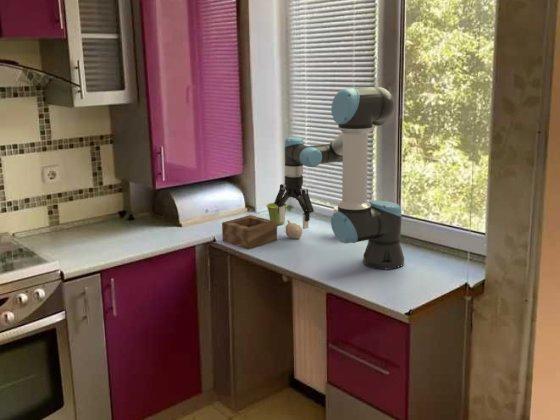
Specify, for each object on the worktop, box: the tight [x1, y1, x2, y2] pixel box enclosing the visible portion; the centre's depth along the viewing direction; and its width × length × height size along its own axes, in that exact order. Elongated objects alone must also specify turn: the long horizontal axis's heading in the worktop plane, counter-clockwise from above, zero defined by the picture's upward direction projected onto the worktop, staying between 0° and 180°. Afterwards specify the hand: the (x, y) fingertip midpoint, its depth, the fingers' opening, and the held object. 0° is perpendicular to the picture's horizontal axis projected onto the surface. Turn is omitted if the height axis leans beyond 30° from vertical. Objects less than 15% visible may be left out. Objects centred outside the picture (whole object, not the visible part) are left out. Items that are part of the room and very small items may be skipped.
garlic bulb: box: [285, 220, 303, 240], centre depth 269 cm, size 7×6×8 cm
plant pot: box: [266, 202, 288, 226], centre depth 291 cm, size 9×9×9 cm
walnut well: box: [221, 214, 278, 250], centre depth 267 cm, size 16×16×8 cm
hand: (293, 224), depth 269 cm, fingers open, 13 cm apart
